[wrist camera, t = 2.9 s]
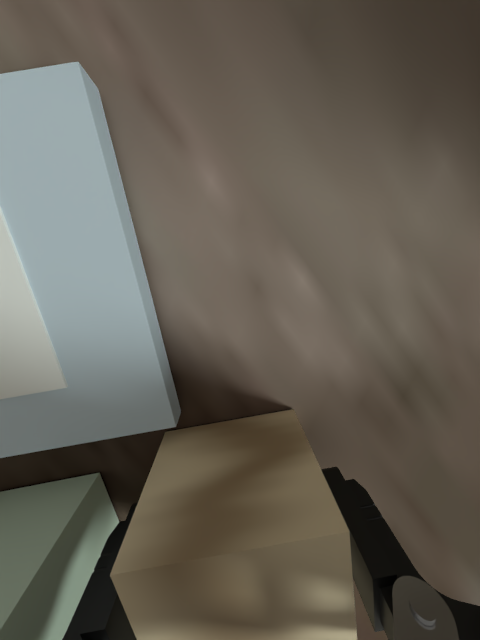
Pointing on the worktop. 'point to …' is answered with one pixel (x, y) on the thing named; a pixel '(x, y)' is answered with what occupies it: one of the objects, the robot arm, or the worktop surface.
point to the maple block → (237, 539)
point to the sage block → (49, 553)
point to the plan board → (71, 276)
